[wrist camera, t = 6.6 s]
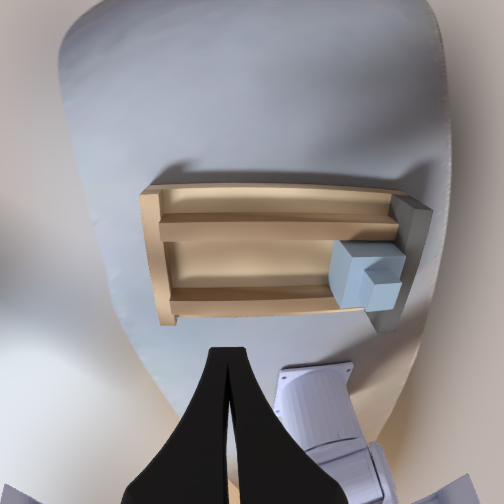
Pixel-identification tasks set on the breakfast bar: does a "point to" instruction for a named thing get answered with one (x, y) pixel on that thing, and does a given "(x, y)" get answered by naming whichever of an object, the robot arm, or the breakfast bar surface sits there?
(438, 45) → the breakfast bar surface
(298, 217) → the track
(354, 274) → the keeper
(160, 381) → the breakfast bar surface
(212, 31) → the breakfast bar surface
